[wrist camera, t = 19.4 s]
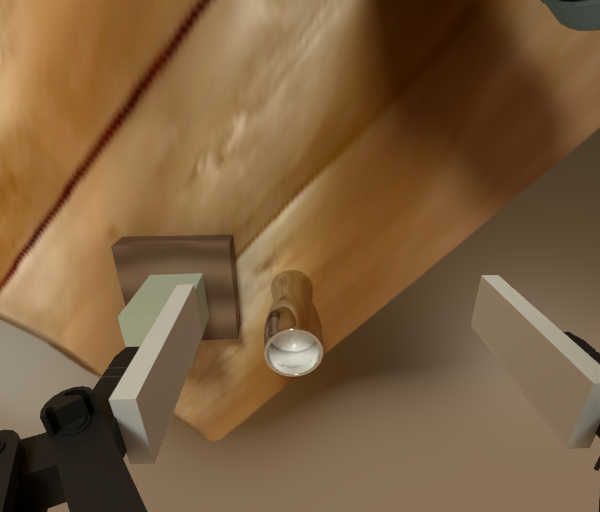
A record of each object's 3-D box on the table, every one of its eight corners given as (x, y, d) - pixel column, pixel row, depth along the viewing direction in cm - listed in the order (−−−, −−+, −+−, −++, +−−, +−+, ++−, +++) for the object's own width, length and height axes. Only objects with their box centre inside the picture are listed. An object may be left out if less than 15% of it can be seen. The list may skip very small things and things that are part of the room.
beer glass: (280, 259, 51) (278, 318, 37) (323, 277, 52) (336, 341, 39) (260, 297, 53) (252, 366, 40) (302, 314, 55) (307, 386, 41)
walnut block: (124, 235, 49) (111, 246, 45) (233, 233, 50) (228, 244, 46) (144, 325, 55) (134, 341, 51) (240, 323, 56) (237, 338, 52)
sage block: (149, 275, 47) (117, 316, 38) (202, 273, 47) (183, 314, 38) (159, 319, 50) (131, 368, 41) (209, 317, 50) (192, 365, 41)
